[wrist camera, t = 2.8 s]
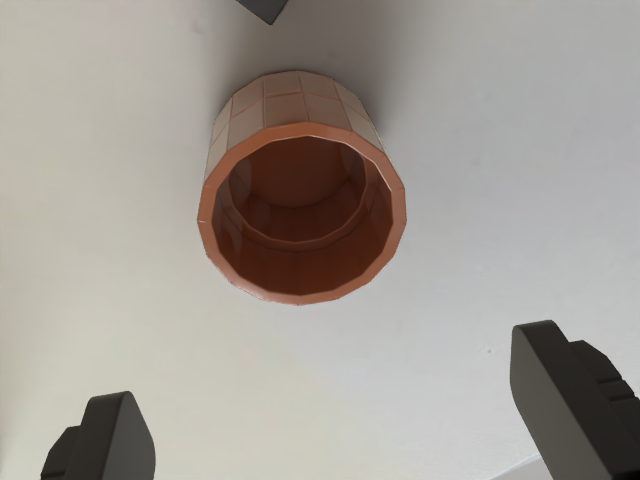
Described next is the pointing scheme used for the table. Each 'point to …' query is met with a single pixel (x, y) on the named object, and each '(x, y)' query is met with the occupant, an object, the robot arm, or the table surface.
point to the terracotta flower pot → (299, 191)
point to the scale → (265, 8)
